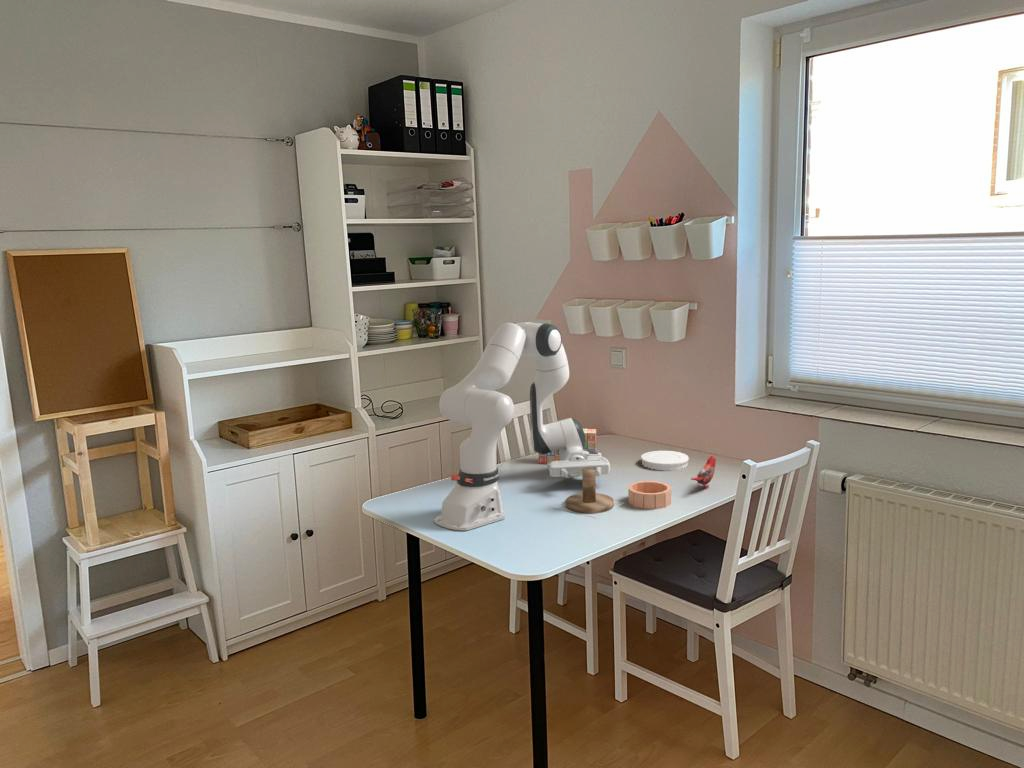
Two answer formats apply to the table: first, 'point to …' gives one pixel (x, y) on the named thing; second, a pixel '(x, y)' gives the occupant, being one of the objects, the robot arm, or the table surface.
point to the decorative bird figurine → (706, 472)
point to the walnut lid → (589, 497)
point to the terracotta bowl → (649, 494)
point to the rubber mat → (596, 515)
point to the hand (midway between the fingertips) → (582, 474)
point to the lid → (664, 460)
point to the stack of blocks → (589, 447)
